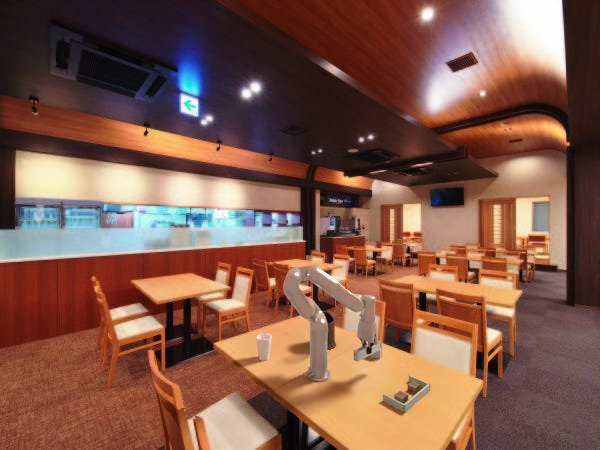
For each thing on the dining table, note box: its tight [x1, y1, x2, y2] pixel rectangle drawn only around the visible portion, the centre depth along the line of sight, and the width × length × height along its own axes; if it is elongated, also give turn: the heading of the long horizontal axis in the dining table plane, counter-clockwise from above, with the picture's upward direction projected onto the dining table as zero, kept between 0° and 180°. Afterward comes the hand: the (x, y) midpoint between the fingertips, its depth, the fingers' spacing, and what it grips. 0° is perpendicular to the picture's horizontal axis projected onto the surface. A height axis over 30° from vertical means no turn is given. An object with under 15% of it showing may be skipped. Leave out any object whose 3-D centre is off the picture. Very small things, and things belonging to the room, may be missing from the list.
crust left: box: [393, 390, 409, 404], centre depth 126 cm, size 5×4×3 cm
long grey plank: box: [353, 339, 380, 363], centre depth 147 cm, size 20×2×5 cm, turn 129°
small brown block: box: [407, 381, 422, 395], centre depth 134 cm, size 5×4×3 cm
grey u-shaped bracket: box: [382, 374, 431, 414], centre depth 130 cm, size 25×11×4 cm, turn 131°
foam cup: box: [255, 333, 273, 362], centre depth 165 cm, size 10×9×13 cm
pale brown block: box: [369, 340, 383, 360], centre depth 168 cm, size 4×7×10 cm, turn 53°
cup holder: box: [321, 310, 337, 351], centre depth 182 cm, size 18×24×25 cm
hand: (366, 352), depth 147 cm, fingers closed on long grey plank, 2 cm apart
